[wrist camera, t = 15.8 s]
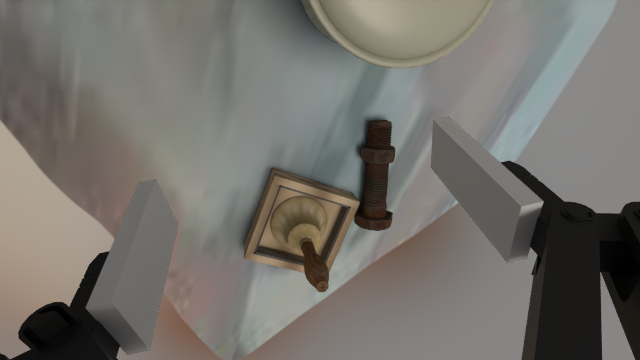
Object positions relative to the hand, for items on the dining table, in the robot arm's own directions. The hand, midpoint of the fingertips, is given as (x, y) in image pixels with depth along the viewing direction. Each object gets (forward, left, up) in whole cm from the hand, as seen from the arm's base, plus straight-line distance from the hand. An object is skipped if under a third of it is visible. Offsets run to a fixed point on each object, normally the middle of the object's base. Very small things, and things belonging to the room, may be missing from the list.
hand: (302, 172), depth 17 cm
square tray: (+10, -14, -31) cm, 36 cm away
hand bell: (+10, -15, -30) cm, 35 cm away
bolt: (+18, -4, -32) cm, 36 cm away
